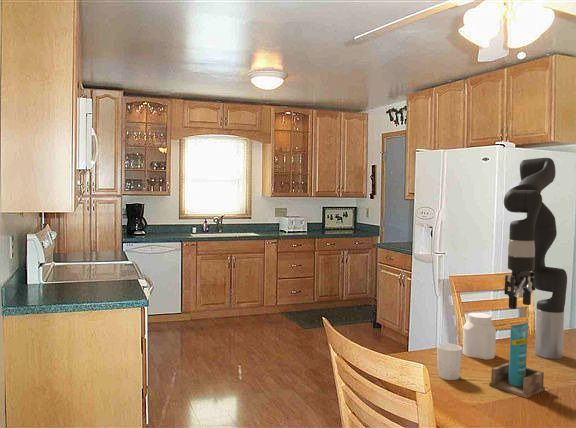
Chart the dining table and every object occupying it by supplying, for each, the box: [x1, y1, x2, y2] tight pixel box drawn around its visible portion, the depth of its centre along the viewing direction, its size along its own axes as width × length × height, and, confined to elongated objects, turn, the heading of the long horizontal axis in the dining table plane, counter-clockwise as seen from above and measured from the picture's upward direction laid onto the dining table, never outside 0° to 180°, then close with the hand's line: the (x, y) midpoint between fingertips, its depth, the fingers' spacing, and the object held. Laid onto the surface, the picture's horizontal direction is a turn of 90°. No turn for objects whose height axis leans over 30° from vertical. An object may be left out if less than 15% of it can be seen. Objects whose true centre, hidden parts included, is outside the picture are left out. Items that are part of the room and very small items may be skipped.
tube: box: [508, 322, 529, 387], centre depth 160 cm, size 7×5×19 cm, turn 123°
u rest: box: [489, 362, 546, 399], centre depth 160 cm, size 11×12×6 cm
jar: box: [462, 312, 497, 360], centre depth 192 cm, size 12×10×15 cm
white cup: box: [436, 342, 463, 381], centre depth 169 cm, size 8×8×10 cm
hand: (519, 306), depth 159 cm, fingers open, 8 cm apart
